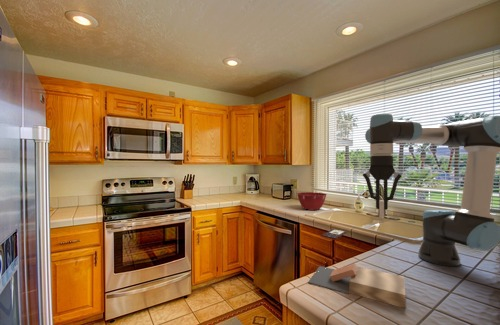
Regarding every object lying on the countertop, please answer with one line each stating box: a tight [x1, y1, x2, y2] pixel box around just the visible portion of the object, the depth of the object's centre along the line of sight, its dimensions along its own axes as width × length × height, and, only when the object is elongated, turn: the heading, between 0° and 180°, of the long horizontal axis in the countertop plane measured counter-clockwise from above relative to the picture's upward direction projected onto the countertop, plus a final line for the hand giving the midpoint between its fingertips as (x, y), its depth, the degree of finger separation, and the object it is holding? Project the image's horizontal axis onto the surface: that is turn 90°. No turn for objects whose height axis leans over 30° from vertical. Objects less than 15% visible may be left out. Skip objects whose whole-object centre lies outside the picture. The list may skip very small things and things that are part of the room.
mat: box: [307, 265, 351, 295], centre depth 89 cm, size 14×16×1 cm
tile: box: [330, 263, 358, 282], centre depth 87 cm, size 9×6×2 cm, turn 59°
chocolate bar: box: [321, 229, 347, 240], centre depth 147 cm, size 9×1×18 cm
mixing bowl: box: [296, 191, 327, 211], centre depth 232 cm, size 28×28×16 cm
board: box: [349, 265, 407, 309], centre depth 81 cm, size 16×14×4 cm
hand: (381, 217), depth 88 cm, fingers closed
